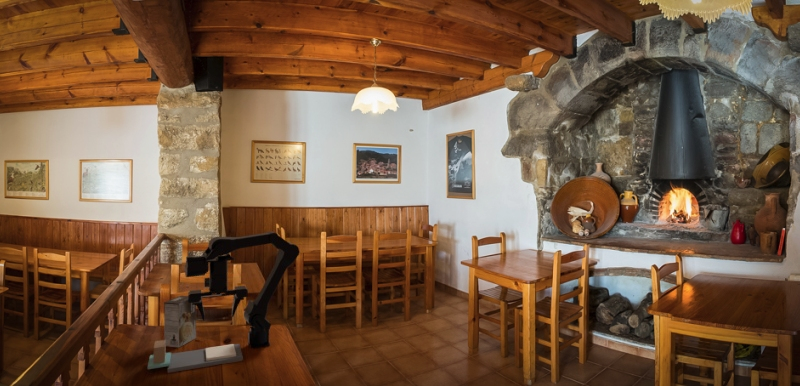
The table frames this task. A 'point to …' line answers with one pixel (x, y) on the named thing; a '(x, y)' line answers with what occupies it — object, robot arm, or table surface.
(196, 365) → the board
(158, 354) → the stub
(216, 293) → the robot arm
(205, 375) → the table surface
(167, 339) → the coffee box
